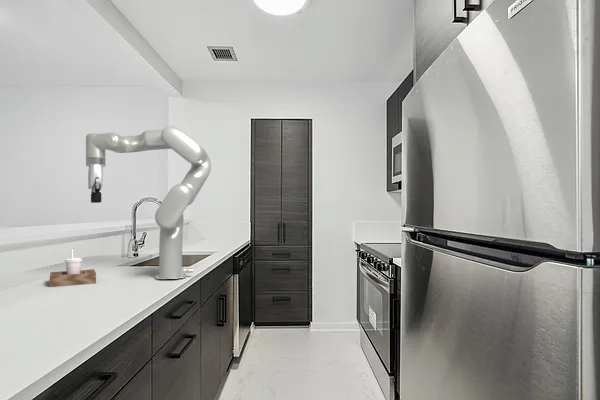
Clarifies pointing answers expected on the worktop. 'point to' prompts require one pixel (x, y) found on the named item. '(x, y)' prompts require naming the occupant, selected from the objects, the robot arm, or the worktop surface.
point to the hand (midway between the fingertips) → (96, 202)
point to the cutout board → (72, 278)
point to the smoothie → (73, 265)
